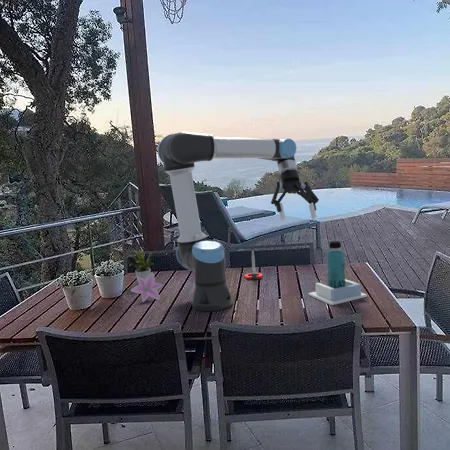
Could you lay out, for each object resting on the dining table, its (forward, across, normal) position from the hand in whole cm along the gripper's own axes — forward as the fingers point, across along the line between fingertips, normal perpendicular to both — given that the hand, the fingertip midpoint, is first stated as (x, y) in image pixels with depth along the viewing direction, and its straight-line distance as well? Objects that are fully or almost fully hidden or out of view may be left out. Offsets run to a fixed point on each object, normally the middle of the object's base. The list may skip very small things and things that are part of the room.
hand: (298, 218), depth 174 cm
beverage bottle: (+32, -8, +1) cm, 33 cm away
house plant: (+7, +60, -51) cm, 79 cm away
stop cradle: (+33, -8, +1) cm, 34 cm away
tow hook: (+13, +11, -35) cm, 39 cm away
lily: (+21, +59, -30) cm, 69 cm away
